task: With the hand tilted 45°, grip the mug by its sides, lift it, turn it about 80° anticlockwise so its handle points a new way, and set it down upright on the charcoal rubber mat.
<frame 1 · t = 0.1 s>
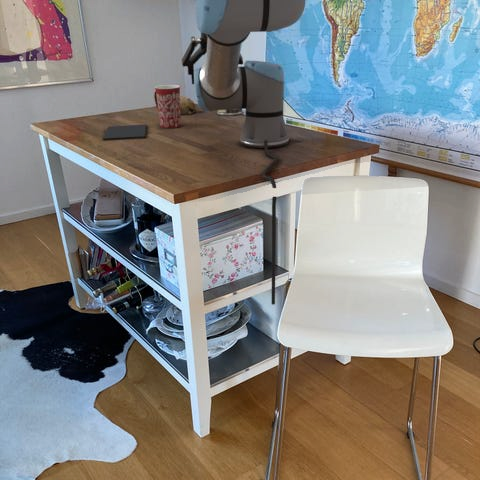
hand: (212, 80, 179), 15 cm above the table, tool tilted 35°, fingers open, 13 cm apart
mat: (126, 132, 183), on the table
mug: (168, 126, 192), on the table
bread roll: (182, 113, 213), on the table
coffee can: (229, 113, 210), on the table
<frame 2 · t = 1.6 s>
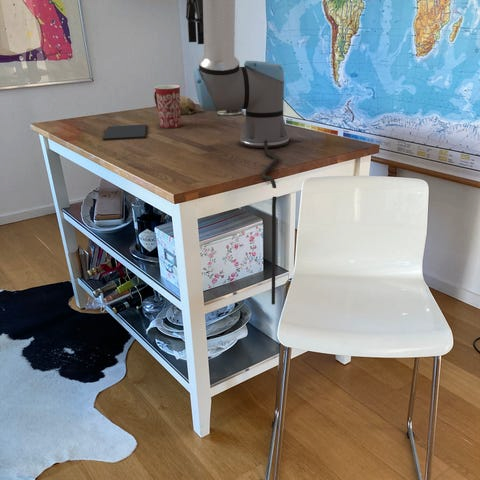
hand: (197, 43, 181), 26 cm above the table, tool pointing down, fingers open, 13 cm apart
nothing on the table moved.
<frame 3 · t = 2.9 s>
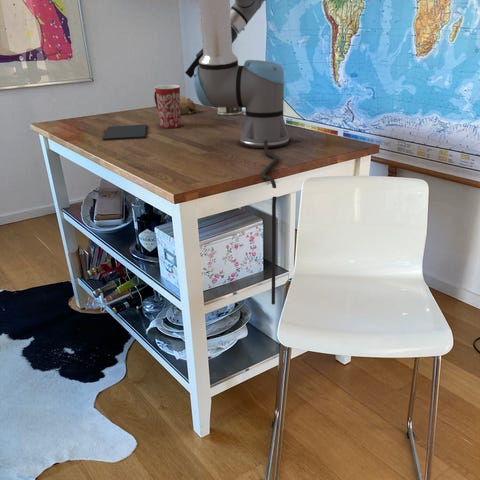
hand: (192, 77, 186), 16 cm above the table, tool tilted 45°, fingers open, 13 cm apart
nothing on the table moved.
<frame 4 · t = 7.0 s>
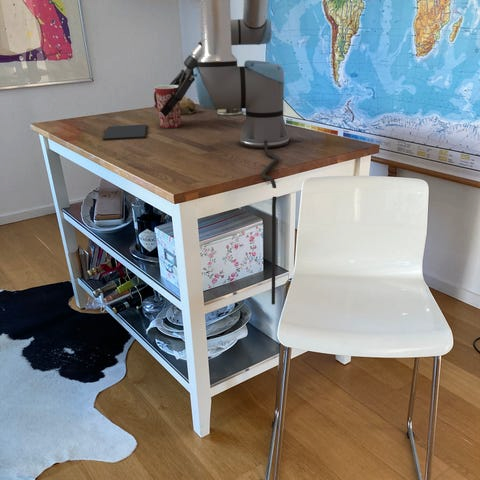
hand: (159, 111, 188), 5 cm above the table, tool tilted 45°, fingers closed on mug, 12 cm apart
mug: (168, 126, 192), on the table, touching gripper
everything else where it was.
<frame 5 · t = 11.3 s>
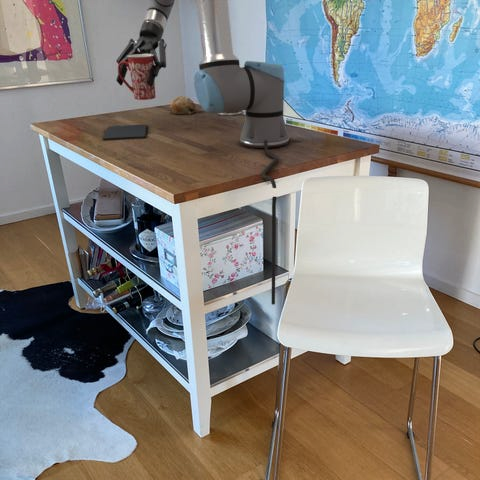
hand: (134, 83, 176), 16 cm above the table, tool tilted 45°, fingers closed on mug, 12 cm apart
mug: (140, 99, 181), point 10 cm above the table, touching gripper
everything else where it was.
when the fingers open (6 cm above the table, at t = 15.6 s): mug stays where it is, resting on mat.
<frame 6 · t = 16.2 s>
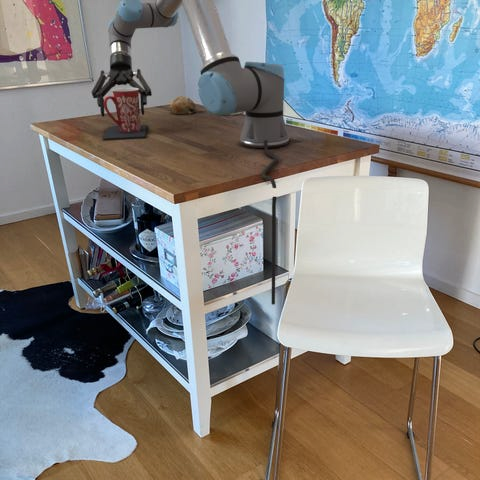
hand: (122, 113, 177), 7 cm above the table, tool tilted 45°, fingers open, 13 cm apart
mug: (125, 131, 182), resting on mat
everything else where it was.
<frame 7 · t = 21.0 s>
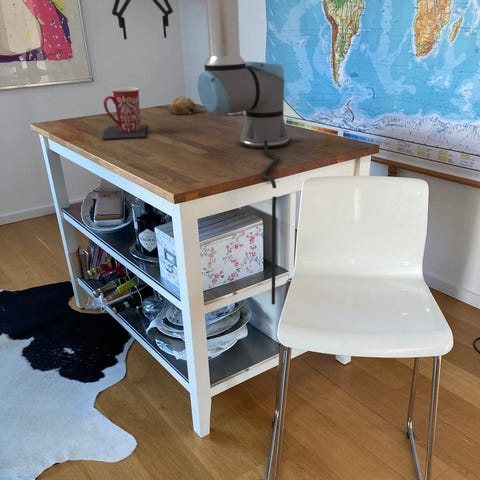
hand: (145, 38, 178), 28 cm above the table, tool pointing down, fingers open, 13 cm apart
nothing on the table moved.
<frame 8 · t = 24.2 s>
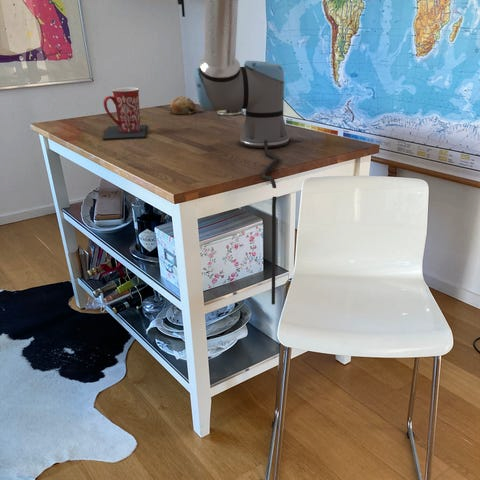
hand: (204, 16, 168), 35 cm above the table, tool pointing down, fingers open, 13 cm apart
nothing on the table moved.
at the end: mug inside the target area on the mat (0.0 cm from its centre), point 0.4 cm above the mat's base; mug tilted 0°; the gripper is holding nothing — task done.
